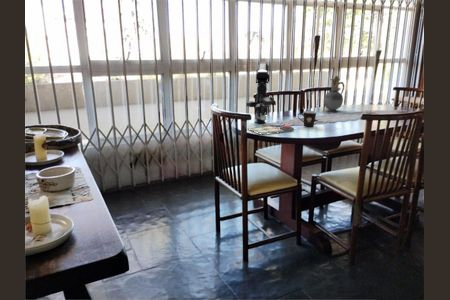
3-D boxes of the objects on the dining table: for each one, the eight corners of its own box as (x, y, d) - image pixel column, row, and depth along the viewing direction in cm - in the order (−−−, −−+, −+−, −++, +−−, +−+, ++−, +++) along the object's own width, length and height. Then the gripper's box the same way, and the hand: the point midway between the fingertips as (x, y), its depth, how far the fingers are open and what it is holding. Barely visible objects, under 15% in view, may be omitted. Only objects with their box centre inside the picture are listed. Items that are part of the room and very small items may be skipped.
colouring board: (247, 129, 214) (247, 127, 214) (270, 127, 222) (270, 125, 221) (260, 135, 201) (260, 133, 200) (284, 132, 208) (284, 130, 208)
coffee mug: (317, 126, 225) (318, 112, 222) (311, 128, 219) (312, 113, 216) (302, 123, 233) (303, 109, 230) (296, 125, 226) (297, 111, 223)
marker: (255, 117, 210) (255, 113, 209) (258, 117, 211) (258, 113, 210) (263, 120, 202) (263, 116, 202) (266, 119, 203) (266, 116, 203)
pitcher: (320, 110, 281) (324, 75, 272) (336, 109, 290) (340, 74, 281) (330, 113, 272) (334, 76, 263) (346, 111, 281) (350, 75, 272)
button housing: (279, 129, 214) (280, 126, 214) (287, 128, 217) (287, 125, 217) (285, 132, 209) (285, 129, 208) (293, 130, 212) (293, 128, 211)
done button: (281, 128, 214) (282, 125, 213) (287, 127, 216) (287, 124, 215) (286, 129, 210) (286, 126, 209) (291, 129, 212) (292, 126, 211)
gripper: (255, 94, 191) (254, 120, 196) (281, 92, 199) (280, 117, 204) (246, 92, 200) (245, 117, 205) (271, 90, 208) (270, 114, 213)
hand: (260, 116), depth 207 cm, fingers closed on marker, 2 cm apart
